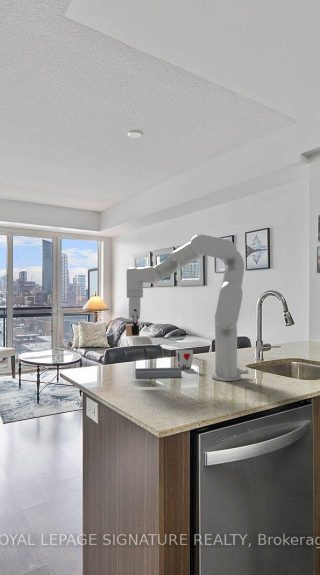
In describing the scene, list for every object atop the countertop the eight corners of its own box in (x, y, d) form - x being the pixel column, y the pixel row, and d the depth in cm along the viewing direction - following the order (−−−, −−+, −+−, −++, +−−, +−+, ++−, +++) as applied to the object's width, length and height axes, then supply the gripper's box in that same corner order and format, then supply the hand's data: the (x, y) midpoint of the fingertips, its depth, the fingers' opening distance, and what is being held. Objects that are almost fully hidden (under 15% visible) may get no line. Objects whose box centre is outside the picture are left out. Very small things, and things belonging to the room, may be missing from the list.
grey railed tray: (179, 375, 173) (178, 367, 173) (181, 379, 164) (181, 371, 164) (135, 376, 171) (135, 368, 171) (135, 380, 162) (135, 372, 163)
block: (139, 324, 175) (126, 324, 174) (139, 325, 170) (125, 325, 170) (139, 335, 175) (126, 335, 174) (139, 336, 170) (126, 336, 169)
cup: (174, 372, 180) (174, 351, 180) (178, 369, 188) (178, 349, 188) (191, 373, 177) (190, 352, 178) (194, 370, 185) (194, 349, 185)
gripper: (126, 294, 181) (127, 332, 180) (126, 294, 164) (126, 336, 163) (142, 294, 181) (142, 332, 181) (143, 294, 164) (144, 336, 164)
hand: (135, 333), depth 172 cm, fingers closed on block, 5 cm apart
